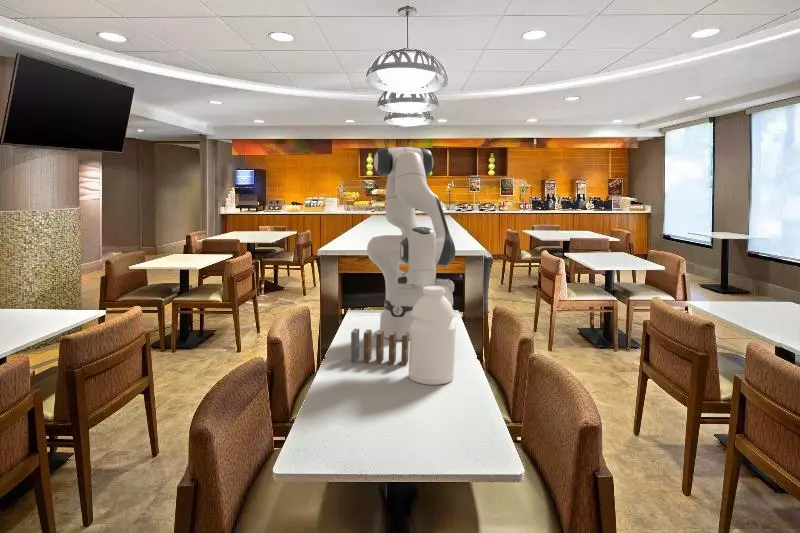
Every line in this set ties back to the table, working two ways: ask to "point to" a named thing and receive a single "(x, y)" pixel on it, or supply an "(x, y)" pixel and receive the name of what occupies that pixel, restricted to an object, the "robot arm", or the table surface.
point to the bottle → (432, 338)
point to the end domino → (354, 345)
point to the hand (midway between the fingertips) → (421, 320)
